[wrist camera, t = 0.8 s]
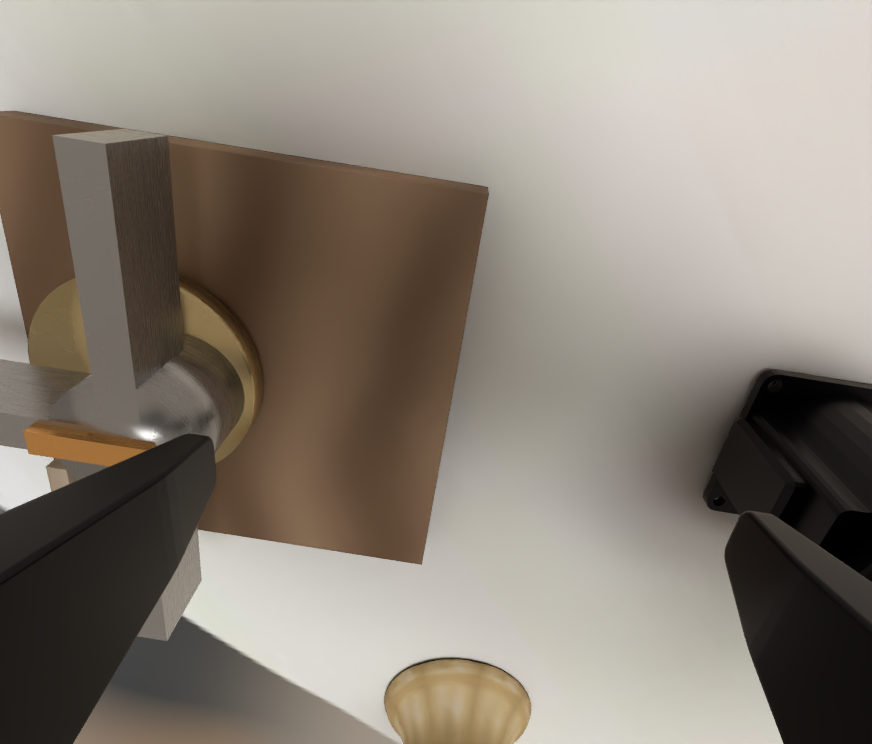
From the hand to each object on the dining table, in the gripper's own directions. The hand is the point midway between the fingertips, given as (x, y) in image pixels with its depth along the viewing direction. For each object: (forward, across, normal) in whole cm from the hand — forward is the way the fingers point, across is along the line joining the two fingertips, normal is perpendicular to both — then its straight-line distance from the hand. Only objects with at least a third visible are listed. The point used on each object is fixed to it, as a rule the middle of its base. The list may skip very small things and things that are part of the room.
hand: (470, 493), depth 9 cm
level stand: (+12, +8, +4) cm, 15 cm away
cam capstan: (+10, +13, +4) cm, 17 cm away
